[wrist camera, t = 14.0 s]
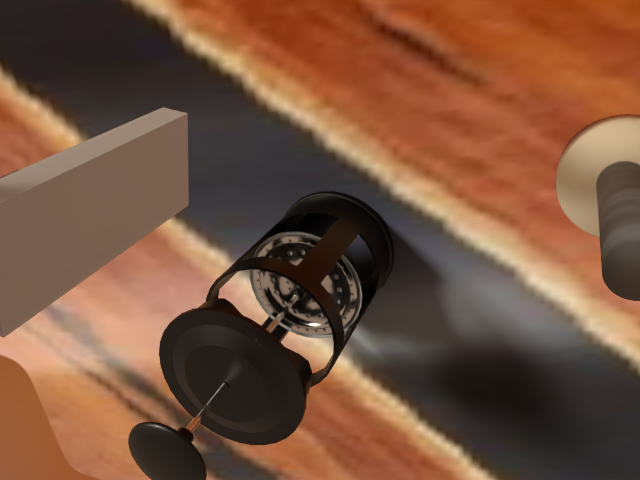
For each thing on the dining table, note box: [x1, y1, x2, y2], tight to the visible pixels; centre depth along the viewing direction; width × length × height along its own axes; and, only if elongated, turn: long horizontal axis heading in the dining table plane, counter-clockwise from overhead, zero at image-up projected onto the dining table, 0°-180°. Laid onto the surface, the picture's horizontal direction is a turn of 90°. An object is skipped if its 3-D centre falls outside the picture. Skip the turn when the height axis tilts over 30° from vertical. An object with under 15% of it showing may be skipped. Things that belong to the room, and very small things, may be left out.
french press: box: [128, 191, 394, 480], centre depth 36 cm, size 12×9×23 cm
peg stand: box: [556, 114, 640, 301], centre depth 30 cm, size 7×7×13 cm
